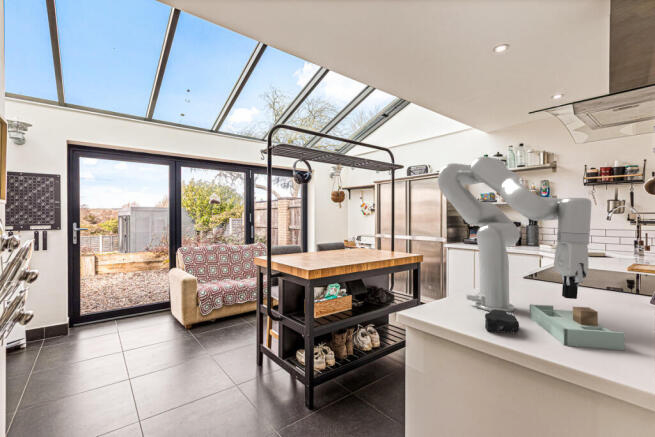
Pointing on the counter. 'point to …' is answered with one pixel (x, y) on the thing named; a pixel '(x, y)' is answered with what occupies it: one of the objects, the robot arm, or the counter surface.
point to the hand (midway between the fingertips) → (569, 297)
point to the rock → (501, 321)
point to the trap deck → (575, 329)
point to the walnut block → (585, 316)
